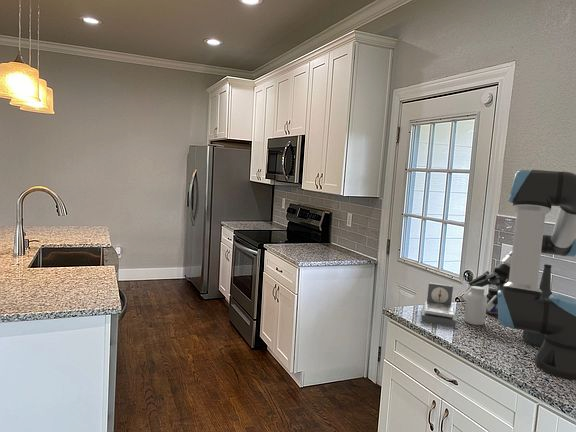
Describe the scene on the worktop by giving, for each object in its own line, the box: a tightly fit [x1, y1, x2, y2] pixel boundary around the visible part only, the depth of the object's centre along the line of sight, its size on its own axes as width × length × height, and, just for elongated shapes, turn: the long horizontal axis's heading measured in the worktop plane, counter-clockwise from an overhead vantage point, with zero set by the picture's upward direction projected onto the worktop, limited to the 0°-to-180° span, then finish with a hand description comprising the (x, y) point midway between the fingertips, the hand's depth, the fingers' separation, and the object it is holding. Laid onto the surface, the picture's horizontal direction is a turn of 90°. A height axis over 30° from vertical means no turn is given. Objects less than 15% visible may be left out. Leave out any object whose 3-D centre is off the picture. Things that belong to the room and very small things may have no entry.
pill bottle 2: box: [485, 288, 498, 316], centre depth 198 cm, size 6×6×11 cm
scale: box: [421, 281, 457, 329], centre depth 185 cm, size 18×13×13 cm
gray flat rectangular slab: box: [424, 301, 454, 318], centre depth 184 cm, size 14×11×1 cm
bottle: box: [522, 264, 553, 348], centre depth 163 cm, size 10×10×30 cm
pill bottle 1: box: [463, 286, 487, 326], centre depth 183 cm, size 8×8×15 cm
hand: (475, 303), depth 183 cm, fingers open, 13 cm apart
